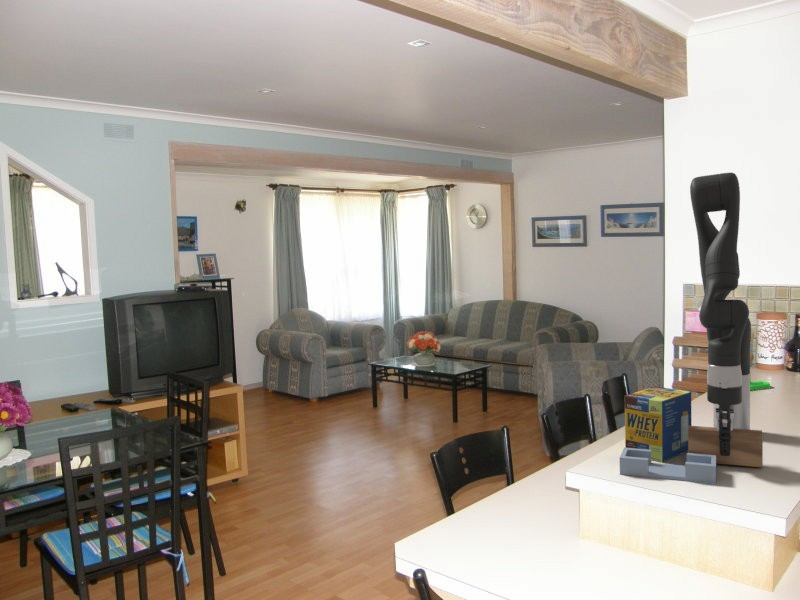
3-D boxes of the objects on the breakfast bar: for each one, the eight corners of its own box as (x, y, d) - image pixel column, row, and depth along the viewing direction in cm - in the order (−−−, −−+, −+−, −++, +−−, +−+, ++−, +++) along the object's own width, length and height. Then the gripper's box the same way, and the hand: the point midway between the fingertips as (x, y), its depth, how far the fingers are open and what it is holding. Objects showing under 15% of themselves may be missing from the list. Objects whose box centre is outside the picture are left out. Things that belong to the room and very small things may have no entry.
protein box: (624, 454, 175) (623, 395, 174) (655, 441, 185) (655, 385, 184) (662, 463, 167) (661, 401, 166) (693, 449, 177) (692, 390, 176)
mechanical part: (745, 392, 240) (745, 369, 240) (733, 389, 246) (733, 367, 245) (774, 389, 243) (774, 367, 242) (761, 386, 249) (761, 364, 248)
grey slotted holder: (624, 463, 168) (624, 447, 167) (716, 472, 159) (716, 455, 159) (619, 474, 160) (619, 457, 160) (715, 483, 151) (715, 466, 151)
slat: (689, 457, 168) (688, 425, 168) (761, 463, 161) (761, 430, 161) (688, 460, 165) (688, 428, 165) (762, 467, 159) (762, 433, 158)
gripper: (707, 376, 170) (708, 443, 171) (706, 388, 157) (707, 460, 158) (740, 377, 167) (741, 446, 168) (742, 389, 154) (743, 463, 155)
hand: (724, 452), depth 163 cm, fingers closed on slat, 3 cm apart
